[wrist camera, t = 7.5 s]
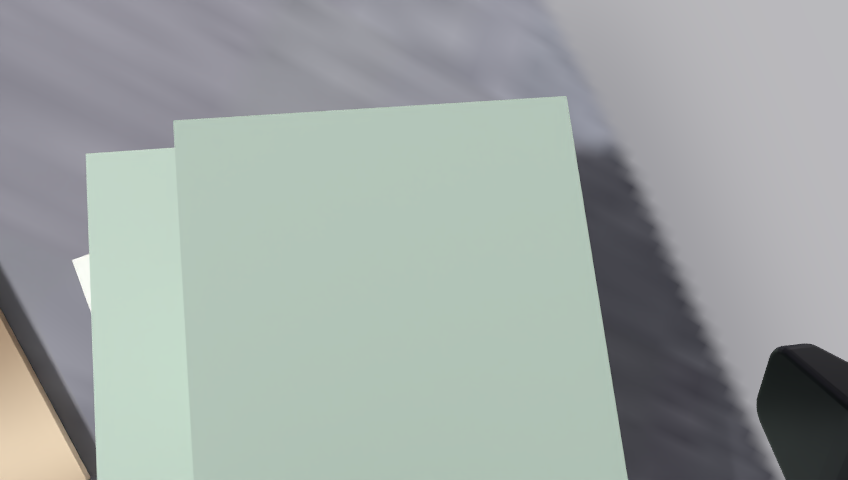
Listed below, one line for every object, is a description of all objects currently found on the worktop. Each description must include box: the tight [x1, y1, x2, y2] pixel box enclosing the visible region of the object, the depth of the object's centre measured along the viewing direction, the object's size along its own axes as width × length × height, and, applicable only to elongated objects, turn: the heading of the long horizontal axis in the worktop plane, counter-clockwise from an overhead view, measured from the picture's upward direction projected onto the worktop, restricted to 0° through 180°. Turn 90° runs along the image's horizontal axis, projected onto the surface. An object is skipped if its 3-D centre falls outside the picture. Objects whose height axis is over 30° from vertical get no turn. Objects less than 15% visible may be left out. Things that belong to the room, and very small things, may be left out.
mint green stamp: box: [86, 96, 628, 480], centre depth 12 cm, size 10×10×11 cm
